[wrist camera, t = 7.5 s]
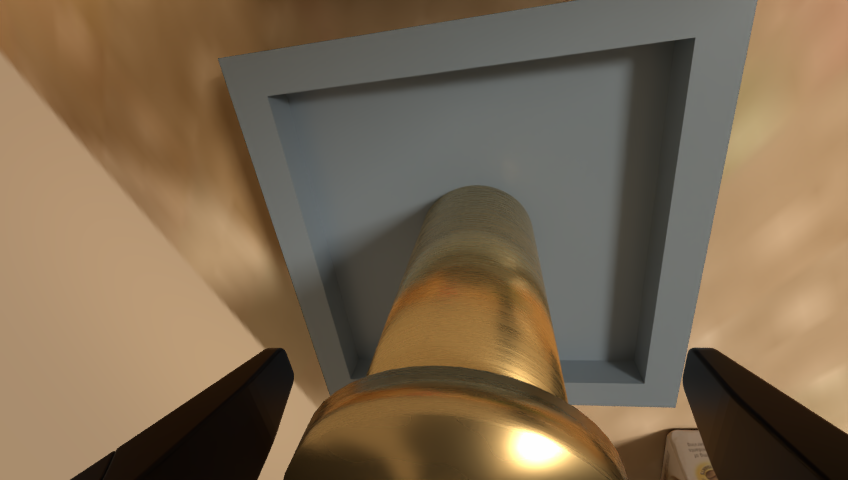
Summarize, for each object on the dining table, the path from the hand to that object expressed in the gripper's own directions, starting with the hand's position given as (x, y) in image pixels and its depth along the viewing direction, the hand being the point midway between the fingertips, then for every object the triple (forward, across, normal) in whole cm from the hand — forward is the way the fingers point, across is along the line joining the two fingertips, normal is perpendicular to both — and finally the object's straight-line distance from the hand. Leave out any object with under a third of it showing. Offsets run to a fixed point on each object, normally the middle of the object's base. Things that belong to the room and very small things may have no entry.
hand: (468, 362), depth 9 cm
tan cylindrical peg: (+6, 0, 0) cm, 6 cm away
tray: (+7, 0, 0) cm, 7 cm away
